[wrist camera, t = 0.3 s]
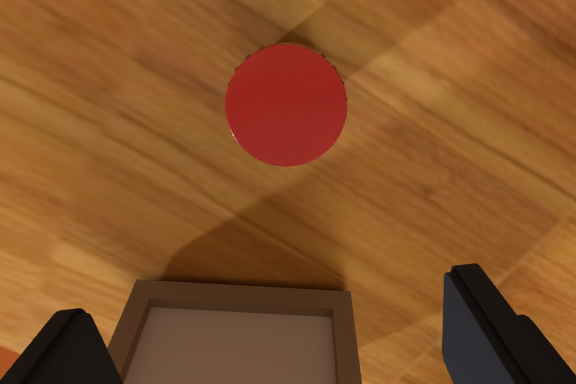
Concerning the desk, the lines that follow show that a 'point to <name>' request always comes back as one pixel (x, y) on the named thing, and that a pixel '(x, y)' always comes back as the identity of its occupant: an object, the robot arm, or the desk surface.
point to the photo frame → (235, 335)
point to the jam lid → (286, 104)
